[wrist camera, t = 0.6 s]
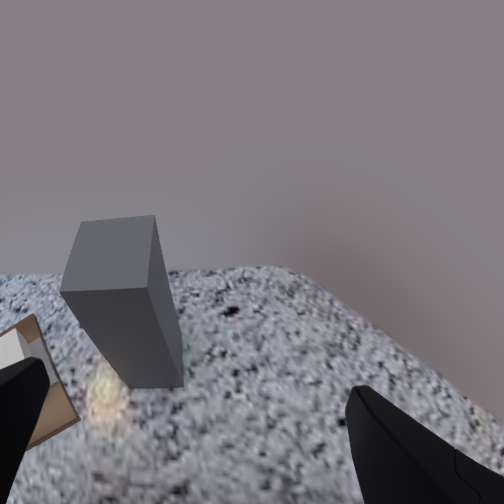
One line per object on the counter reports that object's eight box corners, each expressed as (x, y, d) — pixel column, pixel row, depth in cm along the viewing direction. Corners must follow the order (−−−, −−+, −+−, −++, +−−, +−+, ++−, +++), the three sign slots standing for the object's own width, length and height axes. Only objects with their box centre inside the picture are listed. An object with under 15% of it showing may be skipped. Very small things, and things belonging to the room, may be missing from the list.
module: (183, 387, 22) (147, 287, 13) (129, 388, 22) (59, 291, 12) (181, 332, 26) (154, 213, 17) (131, 334, 25) (81, 220, 16)
